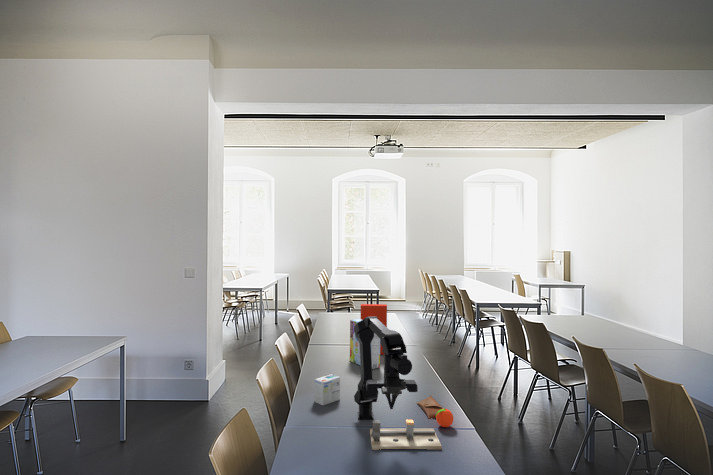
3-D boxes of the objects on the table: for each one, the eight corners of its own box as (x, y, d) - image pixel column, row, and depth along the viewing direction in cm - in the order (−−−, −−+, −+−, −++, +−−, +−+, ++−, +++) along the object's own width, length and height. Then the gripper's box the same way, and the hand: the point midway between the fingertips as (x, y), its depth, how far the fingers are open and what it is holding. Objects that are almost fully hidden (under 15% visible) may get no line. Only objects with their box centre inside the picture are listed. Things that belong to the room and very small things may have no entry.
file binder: (360, 351, 277) (360, 303, 277) (386, 351, 277) (386, 304, 277) (360, 354, 269) (360, 305, 269) (386, 355, 268) (387, 306, 269)
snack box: (381, 367, 241) (381, 324, 241) (369, 370, 236) (369, 325, 236) (360, 359, 259) (360, 318, 259) (348, 361, 254) (349, 319, 254)
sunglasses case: (414, 402, 189) (421, 389, 190) (427, 409, 190) (434, 396, 191) (429, 419, 172) (436, 405, 172) (442, 427, 173) (450, 412, 174)
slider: (405, 435, 155) (405, 419, 155) (412, 434, 155) (412, 419, 155) (407, 440, 151) (407, 424, 151) (414, 440, 151) (414, 424, 151)
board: (369, 431, 161) (369, 413, 161) (433, 431, 161) (433, 413, 161) (372, 449, 147) (372, 430, 147) (441, 449, 147) (441, 429, 147)
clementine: (440, 432, 161) (440, 413, 161) (430, 424, 167) (430, 407, 167) (457, 428, 164) (457, 410, 164) (446, 421, 170) (446, 404, 170)
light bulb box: (331, 395, 197) (331, 373, 197) (340, 399, 192) (340, 376, 193) (313, 401, 190) (313, 378, 190) (323, 406, 185) (323, 382, 185)
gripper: (367, 374, 145) (367, 418, 145) (420, 374, 145) (420, 418, 145) (366, 364, 156) (365, 405, 156) (415, 364, 157) (414, 405, 157)
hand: (391, 408), depth 153 cm, fingers closed
